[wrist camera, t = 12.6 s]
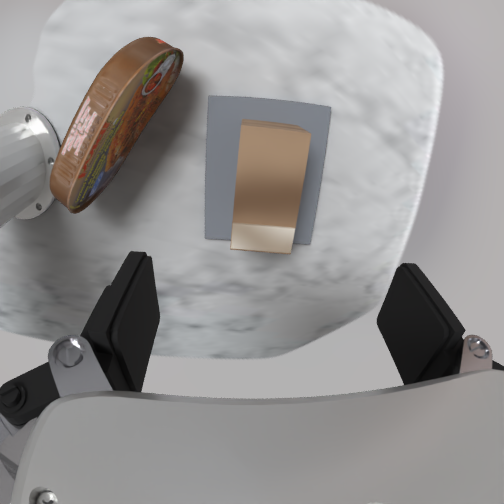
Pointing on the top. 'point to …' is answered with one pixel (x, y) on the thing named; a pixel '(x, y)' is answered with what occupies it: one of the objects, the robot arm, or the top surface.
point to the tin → (112, 119)
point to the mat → (227, 147)
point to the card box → (268, 185)
